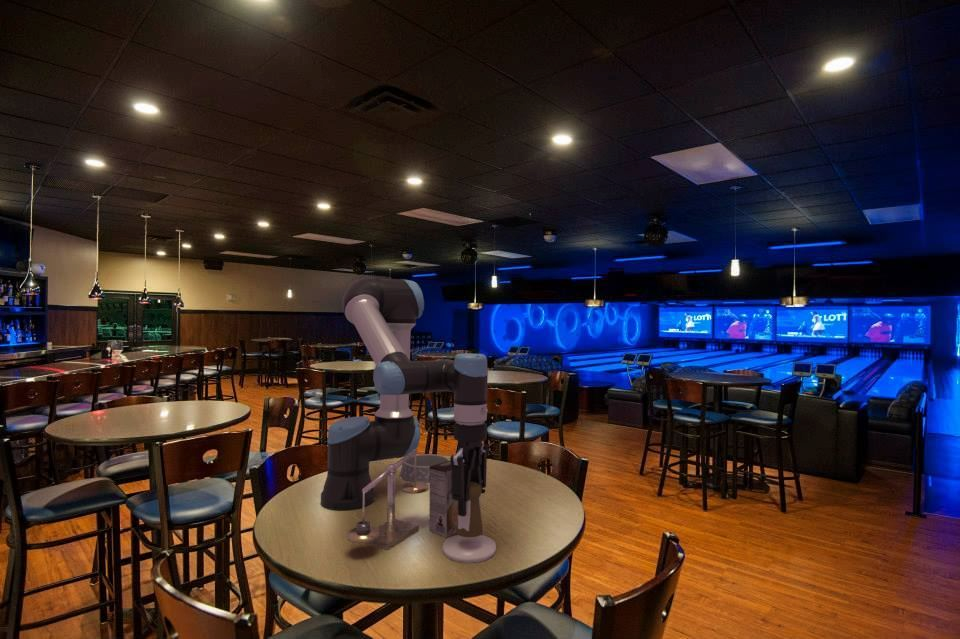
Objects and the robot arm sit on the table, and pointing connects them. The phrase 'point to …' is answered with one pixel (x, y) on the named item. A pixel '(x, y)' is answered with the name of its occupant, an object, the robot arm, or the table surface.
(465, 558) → the dish
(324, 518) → the table surface
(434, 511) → the coffee box
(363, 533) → the balance
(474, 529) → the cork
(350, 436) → the robot arm
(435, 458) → the dog bowl
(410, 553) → the table surface
